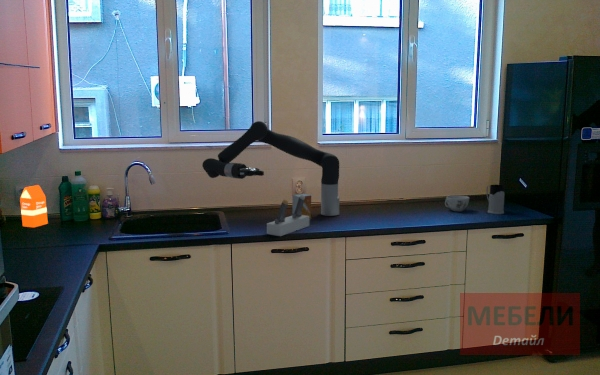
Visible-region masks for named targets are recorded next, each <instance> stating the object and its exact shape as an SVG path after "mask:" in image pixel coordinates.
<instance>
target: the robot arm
mask: <svg viewBox="0 0 600 375" xmlns="http://www.w3.org/2000/svg"><path fill="white" fill-rule="evenodd" d="M255 142H260V143H264V144H265V145H266V144H267V145H269V146H272V147H274V148H275V149H277V150H279V151H282V152H284V153H286V154H288V155H290V156H293V157H295V158H298V159H300V160H301V159H302V160H304V161H305V160H306V161H310V162H311V163H314V164H316V165H318V166H319V167H321V173H322V174H321V178H320V184H321V187H320V202H321V203H320V215H322V216H325V217H333V216H334V217H335V216H339V215H340V197H339V180H340V179H339V178H340V160H339V158H338V156H336V155H335V154H332V153H329V152H327V151H323V150H319V149H318V148H315V147H313V146H311V145H310V144H309V143H306V142H305V141H303V140H301V139H298V138H296V137H294V136H291V135H287V134H283V133H278V132H275V131H273V130H270V129H269V128H268V126H267V124H266V123H265V122H263V121H260V120H259V121H255V122H253V123H252V124H251V125H250V127H249V128H248V130H247V131H245V132H244V133H243V134H242V135H241V136H240V137H238V138H237V139H236V140H234V141H233V142H232V143H231V144H229V145H227V147H226V148H224V149H223V150H221V151H220V152H219V153H218V154H217V158H218V159H215V158H214V157H213V158H211V157H210V158H206V159H205V160H203V162H202V169H203V170H204V171H205V173H206V174H207V175H208V176H209V177H210V178H211V179H214V178H217V177H219V176H220V177H227V178H232V179H240V180H243V179H245V178H246V177H253V176H254V177H255V176H259V177H263V176H265V172H264V170H260V169H259V168H257V167H255V168H254V167H253V168H252V167H249V166H248V167H247V165H246V164H245V163H241V162H232V161H233V160H235V159H236V158H237V157H238V156H240V155H241V153H242V152H244V151H245V150H246V149H247V148H248V147H249V146H250V145H252V144H253V143H255Z"/></svg>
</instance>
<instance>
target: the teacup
mask: <svg viewBox="0 0 600 375" xmlns="http://www.w3.org/2000/svg"><path fill="white" fill-rule="evenodd" d="M470 198H471V197H469V196H467V195H458V194H457V195H456V194H450V195H446V198H445V201H444V205H445V207H446V208H449V209H451V211H454V212H463V211H464V210H465V209H466V208H467V206H468V205H469V203H470Z"/></svg>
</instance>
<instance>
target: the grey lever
mask: <svg viewBox="0 0 600 375" xmlns="http://www.w3.org/2000/svg"><path fill="white" fill-rule="evenodd" d="M304 200H305V196H304V195H301V196H300V198H299V200H298V203H297V206H296V209H295V212H294V214H296V217H297V216H300V215H301V210H302V206H303V203H304Z"/></svg>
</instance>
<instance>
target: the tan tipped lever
mask: <svg viewBox="0 0 600 375" xmlns="http://www.w3.org/2000/svg"><path fill="white" fill-rule="evenodd" d="M288 204H289V200H288V199H283V200H282V202H281V204H280V207H279V211H278V214H277V218H276V219H278V220H279V222H281V221H283V220H284V217H285V215H286V212H287V208H288Z"/></svg>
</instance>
